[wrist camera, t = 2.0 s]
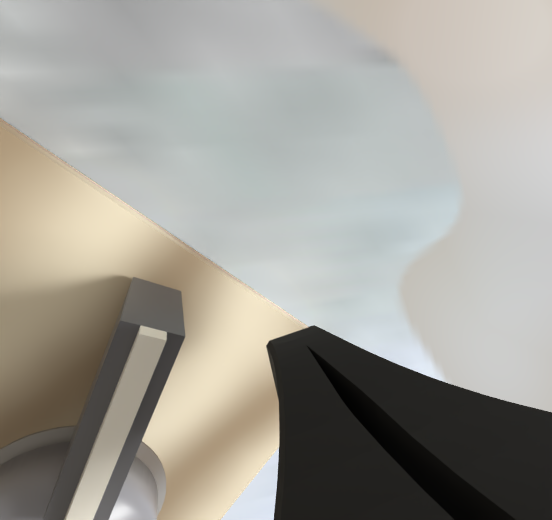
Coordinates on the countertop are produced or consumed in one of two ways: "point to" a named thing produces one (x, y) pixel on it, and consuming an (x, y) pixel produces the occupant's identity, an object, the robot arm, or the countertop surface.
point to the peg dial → (106, 425)
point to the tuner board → (101, 320)
